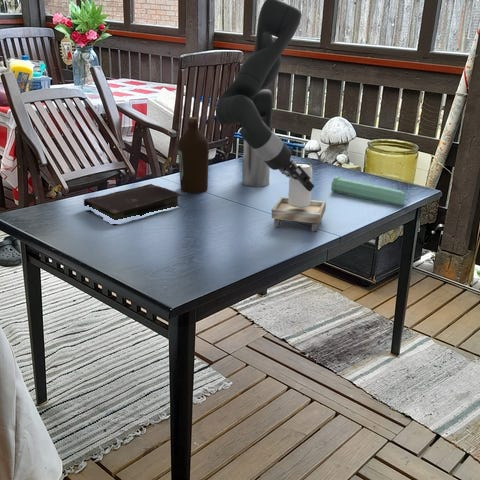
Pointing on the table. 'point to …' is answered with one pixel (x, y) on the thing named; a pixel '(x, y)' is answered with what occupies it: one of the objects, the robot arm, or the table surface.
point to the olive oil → (193, 159)
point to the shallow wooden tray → (298, 212)
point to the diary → (134, 201)
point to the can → (300, 188)
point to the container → (367, 191)
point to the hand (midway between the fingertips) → (304, 185)
